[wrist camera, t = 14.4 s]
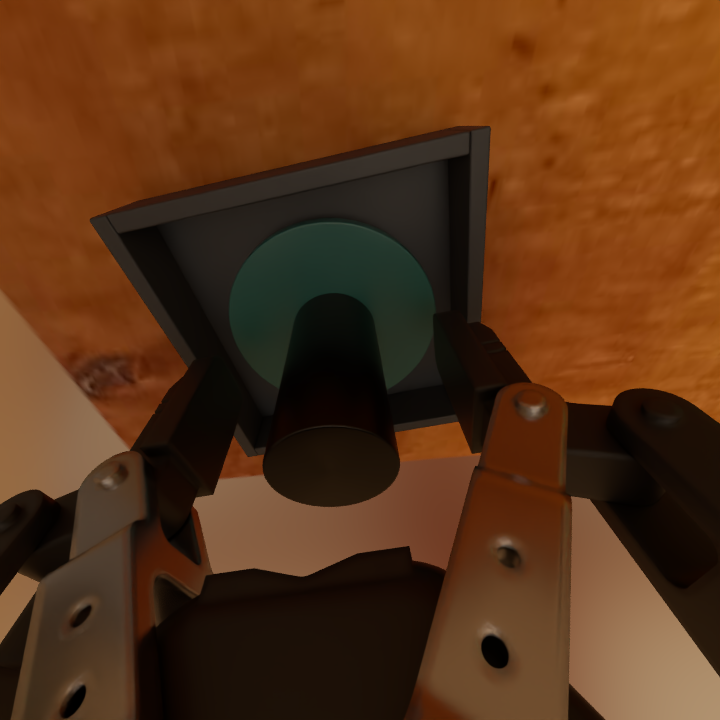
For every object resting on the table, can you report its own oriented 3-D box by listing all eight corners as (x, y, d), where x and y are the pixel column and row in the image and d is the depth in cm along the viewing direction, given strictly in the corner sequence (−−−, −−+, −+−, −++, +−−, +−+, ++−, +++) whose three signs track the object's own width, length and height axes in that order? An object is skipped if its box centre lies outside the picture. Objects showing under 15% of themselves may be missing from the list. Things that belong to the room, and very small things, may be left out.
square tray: (258, 417, 16) (247, 457, 14) (136, 201, 10) (87, 219, 8) (458, 381, 16) (476, 418, 14) (459, 125, 9) (491, 125, 7)
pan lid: (276, 399, 15) (239, 564, 9) (198, 240, 11) (35, 372, 5) (433, 370, 15) (495, 526, 9) (422, 189, 10) (532, 273, 4)
